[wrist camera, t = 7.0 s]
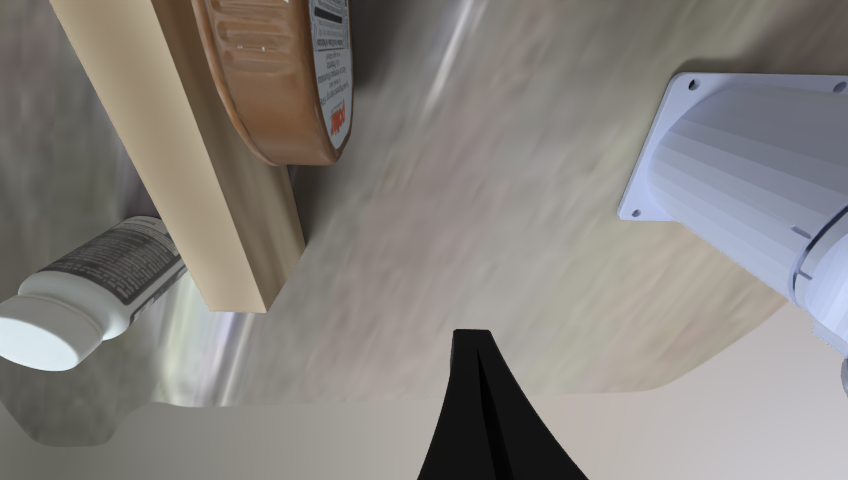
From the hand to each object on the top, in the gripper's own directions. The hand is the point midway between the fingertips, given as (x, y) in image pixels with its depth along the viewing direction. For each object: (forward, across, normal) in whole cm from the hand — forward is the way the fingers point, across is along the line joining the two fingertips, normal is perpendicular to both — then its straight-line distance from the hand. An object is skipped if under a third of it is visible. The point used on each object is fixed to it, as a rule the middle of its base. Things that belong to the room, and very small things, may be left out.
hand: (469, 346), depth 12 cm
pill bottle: (+10, +20, +2) cm, 22 cm away
